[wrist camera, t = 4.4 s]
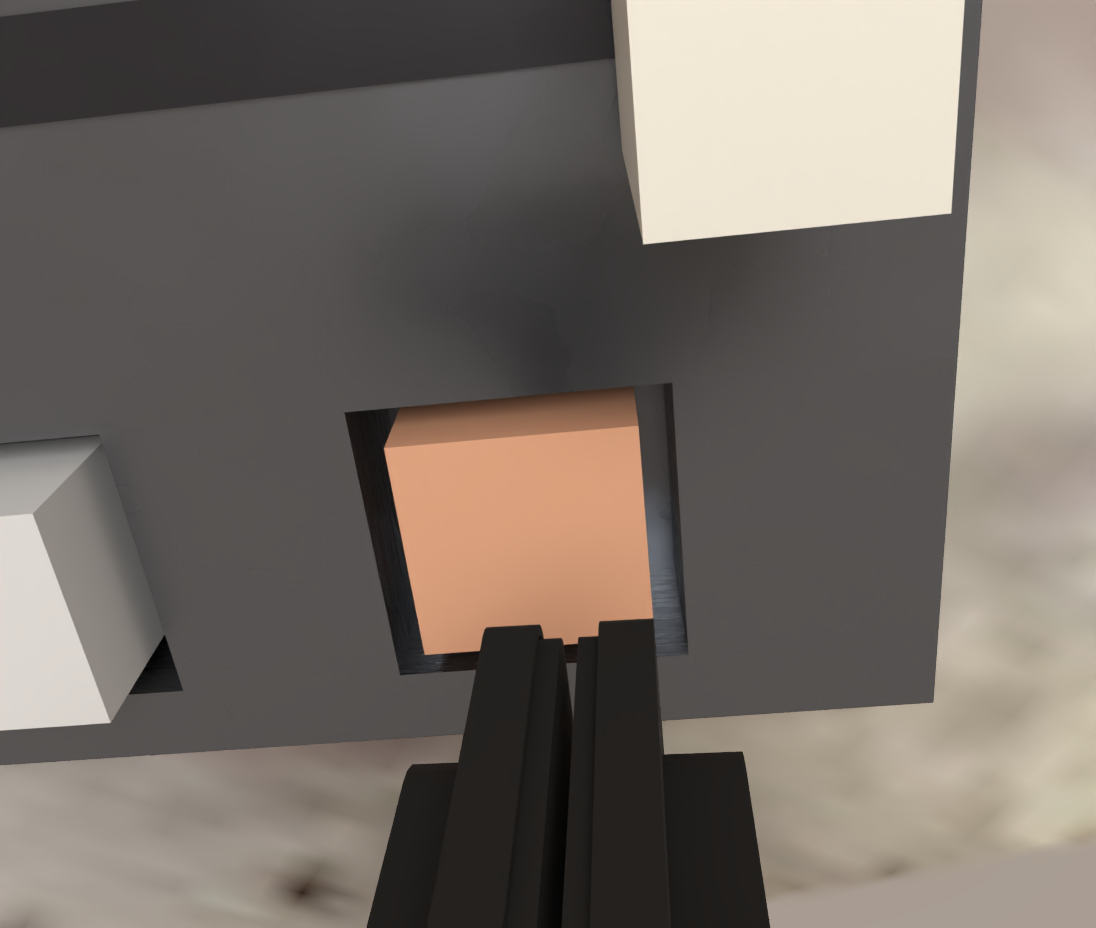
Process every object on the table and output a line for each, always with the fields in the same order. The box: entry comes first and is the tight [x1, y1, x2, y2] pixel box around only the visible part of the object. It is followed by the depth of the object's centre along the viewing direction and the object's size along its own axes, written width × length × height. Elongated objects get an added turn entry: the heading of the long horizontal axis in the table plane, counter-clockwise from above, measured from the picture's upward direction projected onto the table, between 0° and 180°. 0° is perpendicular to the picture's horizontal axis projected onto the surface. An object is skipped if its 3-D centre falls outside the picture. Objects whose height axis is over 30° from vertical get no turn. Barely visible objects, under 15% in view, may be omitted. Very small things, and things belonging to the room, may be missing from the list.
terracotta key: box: [384, 386, 653, 655], centre depth 16 cm, size 4×4×2 cm
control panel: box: [0, 0, 982, 765], centre depth 15 cm, size 20×14×4 cm
